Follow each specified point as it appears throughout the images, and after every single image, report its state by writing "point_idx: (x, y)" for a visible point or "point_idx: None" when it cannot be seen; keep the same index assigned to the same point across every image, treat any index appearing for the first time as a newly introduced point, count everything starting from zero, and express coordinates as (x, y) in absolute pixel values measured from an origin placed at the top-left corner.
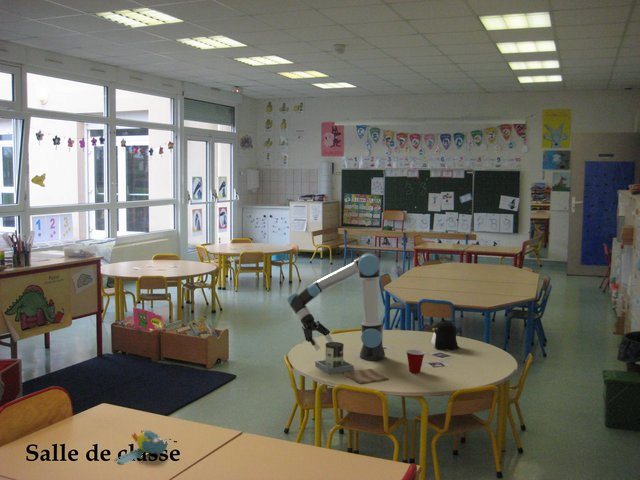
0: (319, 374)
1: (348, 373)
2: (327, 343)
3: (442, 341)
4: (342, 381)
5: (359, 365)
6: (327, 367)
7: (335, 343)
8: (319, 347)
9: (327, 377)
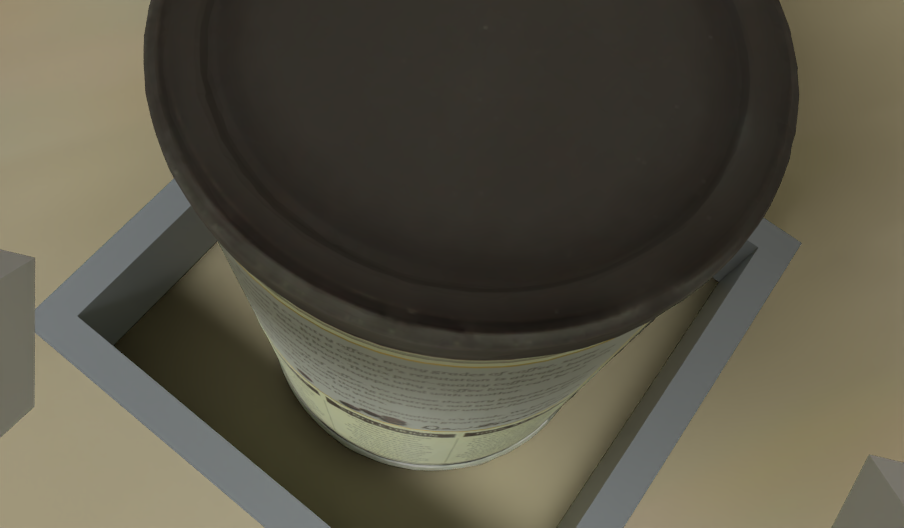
0: (852, 403)
1: None
2: (492, 295)
3: None
4: (896, 15)
5: (103, 26)
6: (741, 291)
7: (327, 56)
8: (895, 472)
9: (891, 235)
